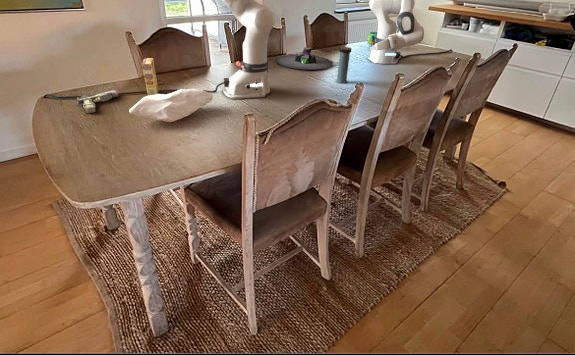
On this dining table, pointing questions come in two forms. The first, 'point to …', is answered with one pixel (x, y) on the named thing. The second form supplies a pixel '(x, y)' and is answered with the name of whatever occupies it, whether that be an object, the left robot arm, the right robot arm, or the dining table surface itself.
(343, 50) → the lid
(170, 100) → the crumpled cloth
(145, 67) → the candy box
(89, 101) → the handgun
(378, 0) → the right robot arm
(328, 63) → the round decorative tray
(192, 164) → the dining table surface
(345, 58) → the grey tall cylinder
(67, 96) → the left robot arm
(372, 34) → the snack cup
